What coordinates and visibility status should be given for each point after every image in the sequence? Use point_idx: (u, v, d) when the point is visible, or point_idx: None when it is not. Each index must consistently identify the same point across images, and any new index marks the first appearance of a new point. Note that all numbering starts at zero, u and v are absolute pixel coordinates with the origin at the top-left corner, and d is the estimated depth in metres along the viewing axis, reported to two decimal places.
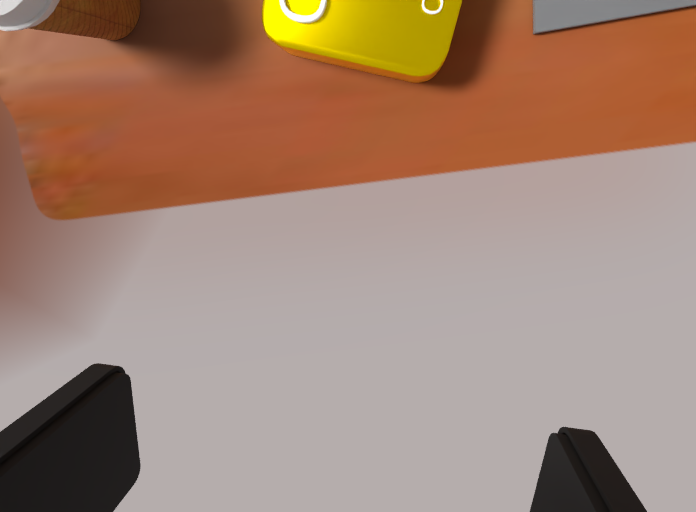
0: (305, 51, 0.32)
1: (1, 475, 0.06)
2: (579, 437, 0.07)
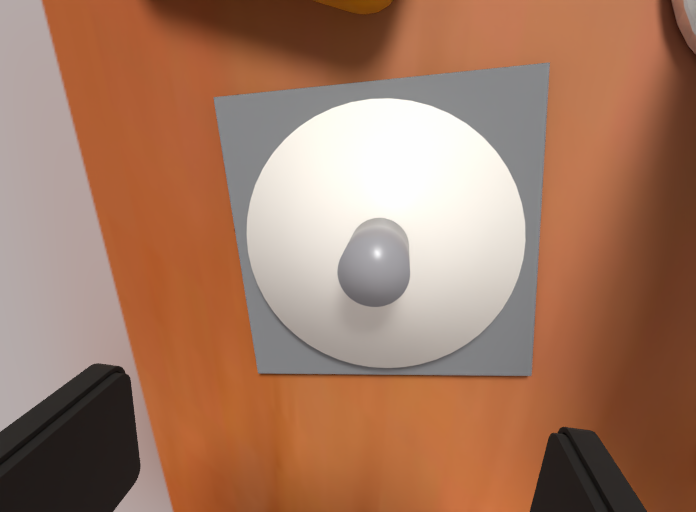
0: None
1: (1, 475, 0.06)
2: (579, 437, 0.07)
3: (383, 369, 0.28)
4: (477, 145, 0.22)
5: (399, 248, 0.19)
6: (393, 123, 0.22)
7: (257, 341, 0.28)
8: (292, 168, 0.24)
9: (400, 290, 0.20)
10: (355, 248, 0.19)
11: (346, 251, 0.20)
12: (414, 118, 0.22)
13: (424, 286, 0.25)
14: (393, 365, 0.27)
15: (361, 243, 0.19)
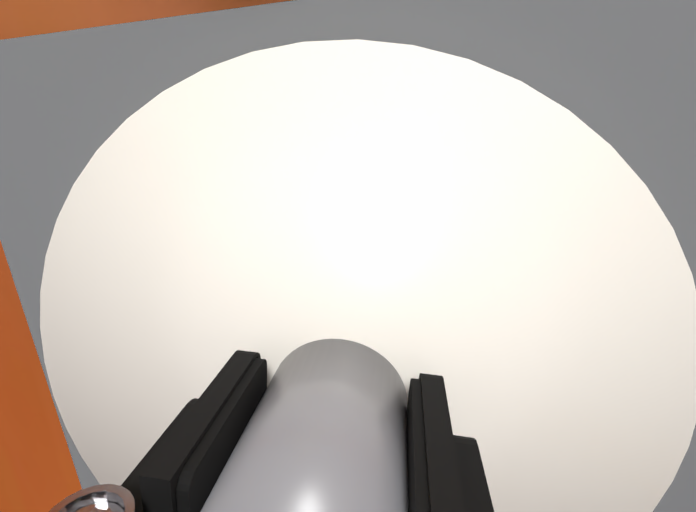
0: None
1: (210, 442, 0.07)
2: (427, 379, 0.09)
3: None
4: (594, 168, 0.08)
5: None
6: (364, 110, 0.08)
7: None
8: (123, 220, 0.10)
9: None
10: None
11: None
12: (422, 95, 0.08)
13: None
14: None
15: None
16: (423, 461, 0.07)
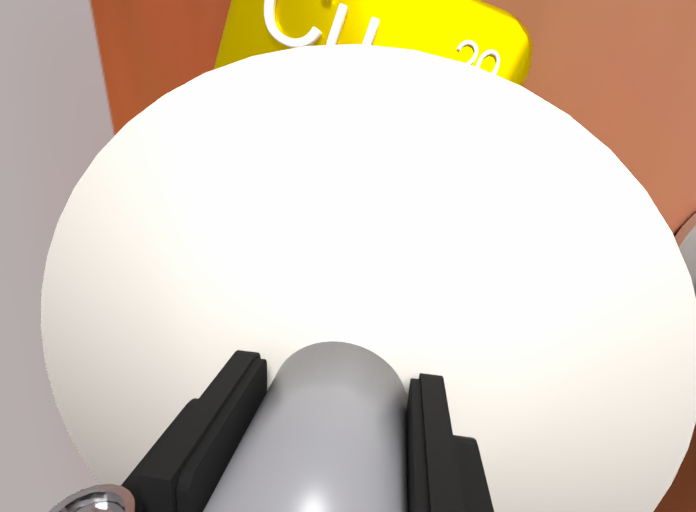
0: None
1: (210, 442, 0.07)
2: (427, 379, 0.09)
3: None
4: (593, 172, 0.08)
5: None
6: (364, 114, 0.08)
7: None
8: (123, 223, 0.10)
9: None
10: None
11: None
12: (422, 99, 0.08)
13: None
14: None
15: None
16: (423, 461, 0.07)
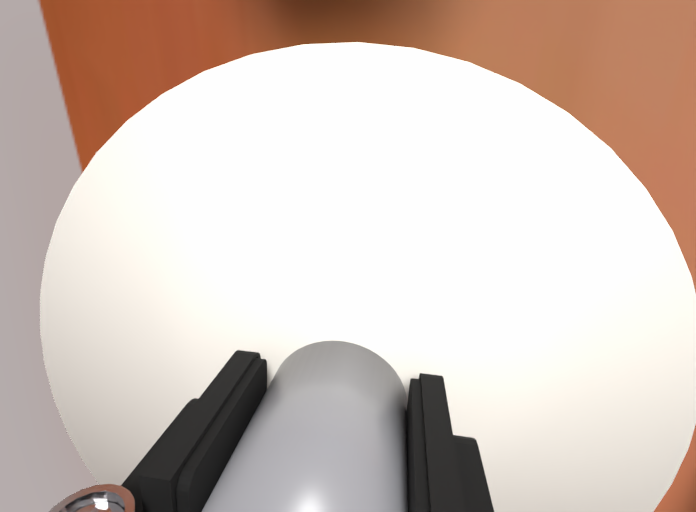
0: None
1: (210, 442, 0.07)
2: (427, 379, 0.09)
3: None
4: (593, 171, 0.08)
5: None
6: (363, 112, 0.08)
7: None
8: (123, 222, 0.10)
9: None
10: None
11: None
12: (422, 98, 0.08)
13: None
14: None
15: None
16: (423, 461, 0.07)
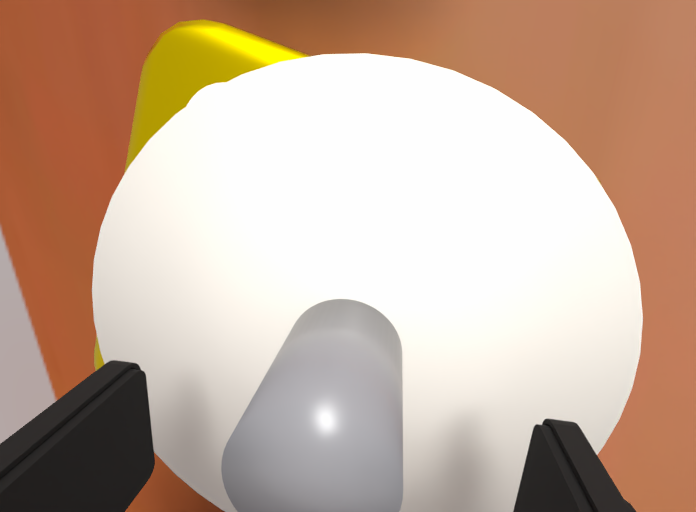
0: (132, 131, 0.13)
1: (27, 467, 0.06)
2: (561, 428, 0.08)
3: None
4: (552, 158, 0.10)
5: (376, 429, 0.07)
6: (370, 110, 0.10)
7: None
8: (168, 198, 0.12)
9: None
10: (262, 425, 0.07)
11: (240, 430, 0.08)
12: (417, 98, 0.10)
13: (431, 426, 0.13)
14: None
15: (277, 414, 0.07)
16: None
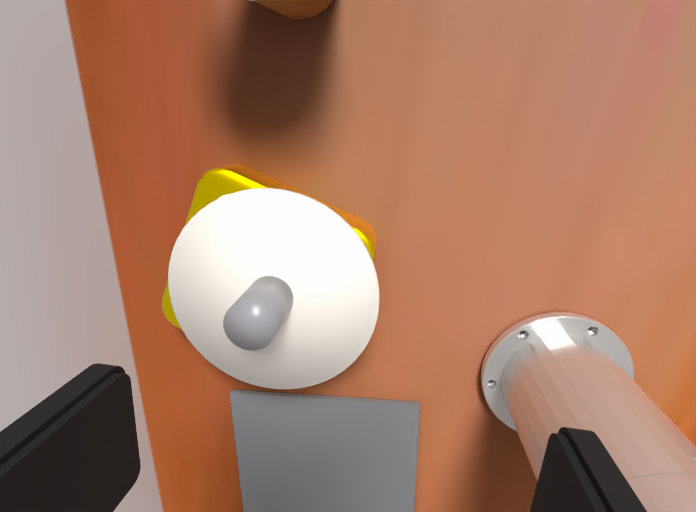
0: (191, 206, 0.32)
1: (1, 475, 0.06)
2: (579, 437, 0.07)
3: None
4: (344, 232, 0.29)
5: (268, 311, 0.26)
6: (282, 209, 0.29)
7: None
8: (205, 231, 0.30)
9: (268, 340, 0.27)
10: (236, 308, 0.26)
11: (229, 309, 0.26)
12: (298, 207, 0.29)
13: (304, 330, 0.32)
14: (279, 387, 0.34)
15: (240, 305, 0.26)
16: None
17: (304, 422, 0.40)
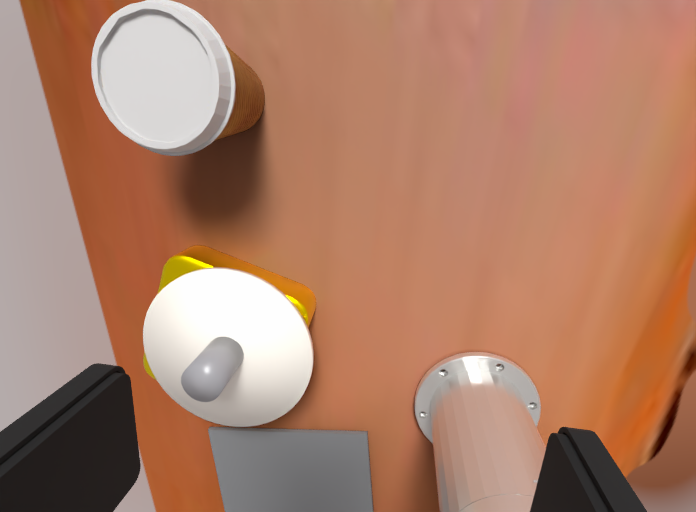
0: (160, 284, 0.39)
1: (1, 475, 0.06)
2: (579, 437, 0.07)
3: None
4: (277, 299, 0.36)
5: (214, 370, 0.33)
6: (226, 284, 0.36)
7: None
8: (168, 304, 0.38)
9: (217, 393, 0.34)
10: (189, 369, 0.33)
11: (185, 371, 0.34)
12: (239, 282, 0.36)
13: (255, 378, 0.39)
14: (241, 425, 0.41)
15: (192, 367, 0.33)
16: None
17: (272, 452, 0.47)
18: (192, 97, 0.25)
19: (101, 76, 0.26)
